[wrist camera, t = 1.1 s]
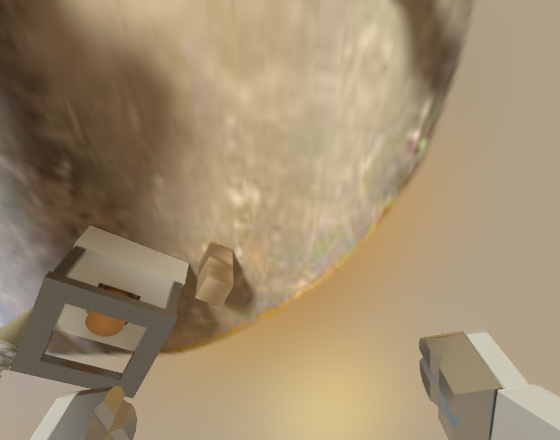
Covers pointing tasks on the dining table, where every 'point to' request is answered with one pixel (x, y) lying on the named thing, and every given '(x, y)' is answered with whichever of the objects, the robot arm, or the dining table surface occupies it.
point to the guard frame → (97, 300)
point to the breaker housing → (120, 281)
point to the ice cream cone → (12, 339)
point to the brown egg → (106, 319)
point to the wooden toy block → (215, 274)
